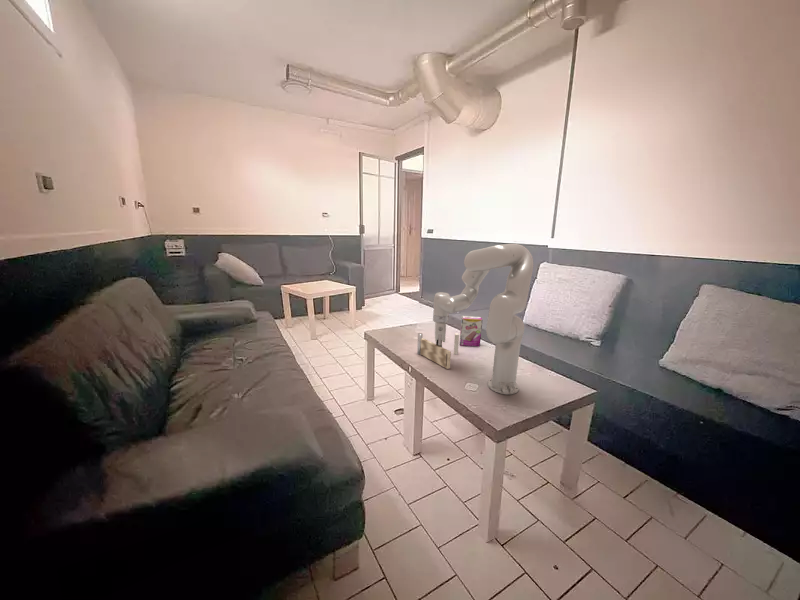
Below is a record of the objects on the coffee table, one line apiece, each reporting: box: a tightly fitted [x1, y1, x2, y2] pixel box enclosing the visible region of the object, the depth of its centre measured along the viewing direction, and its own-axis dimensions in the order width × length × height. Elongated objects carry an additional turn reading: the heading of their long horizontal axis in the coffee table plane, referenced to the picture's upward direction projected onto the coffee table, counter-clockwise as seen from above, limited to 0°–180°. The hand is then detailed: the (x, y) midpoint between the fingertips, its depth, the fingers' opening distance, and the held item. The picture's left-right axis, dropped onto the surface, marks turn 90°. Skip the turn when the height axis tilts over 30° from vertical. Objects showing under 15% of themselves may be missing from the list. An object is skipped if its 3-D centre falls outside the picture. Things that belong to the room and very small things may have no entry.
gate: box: [420, 337, 452, 370], centre depth 155 cm, size 20×2×8 cm, turn 36°
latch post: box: [453, 332, 460, 355], centre depth 165 cm, size 2×2×11 cm
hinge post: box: [416, 332, 424, 356], centre depth 164 cm, size 2×2×11 cm
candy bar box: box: [459, 315, 483, 347], centre depth 176 cm, size 11×5×16 cm, turn 84°
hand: (438, 352), depth 158 cm, fingers closed
